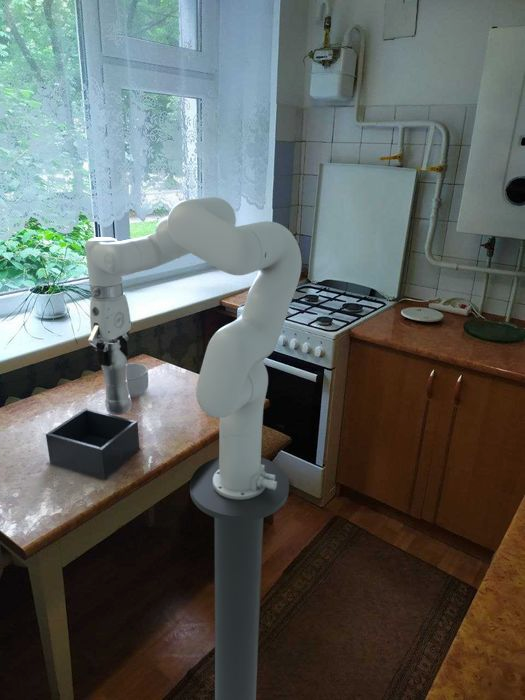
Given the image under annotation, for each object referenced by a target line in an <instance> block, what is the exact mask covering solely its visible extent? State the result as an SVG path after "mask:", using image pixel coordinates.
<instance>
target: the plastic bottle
mask: <svg viewBox="0 0 525 700" xmlns="http://www.w3.org/2000/svg"><path fill="white" fill-rule="evenodd" d="M108 351H110V360H111V365H110V366H104V365H100V367H101V370H102V374H103V380H104V384H105V399H104V406H105V410H106V412H107V413H108V414H110V415H114V416H122V415H126V414H128V413H129V412H130V411H131V409H132V398H130V395H129V392H128V387H127V374H126V372H127V363H128V359H127V356H125V355H124V354H123V352H122V351H121V350H120V341H119V340H118V339H117V338H115V339H113V340H111V341H109V344H108Z"/></svg>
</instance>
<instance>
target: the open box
mask: <svg viewBox="0 0 525 700" xmlns="http://www.w3.org/2000/svg"><path fill="white" fill-rule="evenodd" d="M45 439H46V445H47V451H48V452H47V453H48V458H49V464H51V465H54V466H57V467H60V468H63V469H67V470H71V471H74V472H77V473H81V474H83V475H87V476H89V477H94V478H97V479H100V480H103V481H105V480H106V479H108V478H109V477H110V476H112V475H113V473H115V472H116V471H117V470H118V469H119V468H120V467H121V466H123V464H125V463H126V462H127V461H128V460H130V458H131V457H133V455H135V454H136V453H138V451H139V450H140V436H139V422H138V421H137V420H134V419H130V418H125V417H123V416H122V417H121V416H119V415H112V414H110V413H107V412H101V411H98V410H93V409H89V408H84V409H81V411H78V413H76V414H75V415H73V416H71V417H70V418H68V419H67V420H65V421H63V422H62V423H60V424H59V425H57V426H56V427H54V428H53V429H52V430H50V431H49V432H47V433H46V434H45Z"/></svg>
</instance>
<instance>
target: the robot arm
mask: <svg viewBox="0 0 525 700" xmlns="http://www.w3.org/2000/svg"><path fill="white" fill-rule="evenodd" d="M236 219H237V218H236V212H235V210H234V208H233V206H232V205H231V204H230V203H229V202H228V201H226V200H225V199H224V198H220V197H215V196H208V197H197V198H190V199H189V198H188V199H184V200H181V201H179V202H177V203H176V204H174V205H173V207H172V208H171V210H170V211H169V212H168V216H165V217H163V218H161V219H160V220H159V221H158V222H157V224H156V227H155V231H154V232H153V233H150V234H148V235H146V236H141V237H135V238H130V239H129V238H128V239H125V240H121V241H120V240H119V241H118V240H117V238H114V237H109V236H108V237H106V236H102V237H101V236H99V237H90V238H89V239H88V240H86V242H85V245H84V247H85V248H84V249H85V256H86V266H87V275H88V282H89V283H88V284H89V291H90V292H89V295H90V303H89V321H90V332H91V333H90V335H89V337H88V340H87V343H88V344H90V346H91V347H92V348H94V350H95V351H96V352H97V360H98V365H99V366H101V365H104V366H110V365H111V360H110V351H108V344H109V341H111V340H113V339H118V340H119V341H120V350H121V351H122V352H123V354H124V355H125V356H126V357H128V356H129V348H128V341H129V334H130V331H131V329H132V324H133V322H132V320H131V313H130V308H129V303H128V298H127V295H126V293H125V292H124V283H123V277H125V276H129V275H132V274H136V273H140V272H144V271H148V270H151V269H152V270H153V269H156V268H158V267H160V266H163V265H165V264H167V263H168V264H169V263H171V262H172V261H175V260H177V259H180V258H181V257H184V256H187V255H189V254H191V255H194V256H195V257H197V258H198V259H201V260H202V261H204V262H206V263H208V264H209V265H210V266H212V267H215V268H216V269H218V270H220V271H222V272H223V273H225V274H228V275H231V276H232V275H233V276H246V275H250V274H251V273H254V272H258V273H257V275H256V277H255V279H254V281H253V282H252V284H251V286H250V288H249V289H248V293H247V295H246V299H245V302H244V305H243V308H242V310H241V313H240V314H239V316H238V317H237V318H236V319H235V320H234V321H232V322H230V323H227V324H225V325H224V326H222V327H220V328H219V329H218V330H217V331H215V333H214V334H213V335H212V337H211V338H210V340H209V341H208V344H207V346H206V350H205V353H204V357H203V360H202V363H201V368H200V371H199V374H198V378H197V382H196V387H195V389H196V390H195V395H196V400H197V404H198V406H199V407H200V409H201V410H202V412H203V413H204V414H205V415H207V416H209V417H210V418H214V419H219V429H218V432H219V433H218V434H219V435H218V436H219V437H218V438H219V441H218V442H219V443H218V445H219V447H218V448H219V449H218V450H219V451H218V452H219V453H218V454H219V455H218V457H219V470H218V471H216V473H215V474H214V476H213V487H214V489H215V490H216V491H217V492H218V493H219V494H220V495H222V496H224V497H227V498H230V499H236V500H244V499H250V498H253V497H255V496H257V495H259V494H260V493H262V492H263V491H264V490H265V488H266V487H267V488H269V489H272V490H275V489H276V487H277V482H276V481H274V480H275V475H272V474H267V473H266V472H264V469H265V465H262V464H261V457H262V440H263V425H264V423H263V422H264V406H265V401H266V396H267V392H268V386H269V374H268V373H269V372H268V370H267V367H266V365H265V364H264V363H263V361H264V360H265V359H267V358H268V357H269V356H270V355H271V354H272V353H273V352H274V350H275V349H276V347H277V344H278V340H279V339H280V335H281V333H282V330H283V328H284V327H283V326H284V324H285V321H286V319H287V315H288V313H289V309H290V306H291V303H292V300H293V298H294V295H295V293H296V290H297V287H298V285H299V281H300V278H301V273H302V265H303V263H302V254H301V250H300V246H299V243H298V241H297V239H296V238H295V236H294V235H293V233H292V232H291V231H290V230H289V229H288V228H287V227H286V226H284V225H283V224H280V223H279V222H275V221H269V220H268V221H265V220H264V221H258V222H252V223H248V224H243V225H237V226H236V221H237V220H236ZM102 342H103V343H102ZM267 479H268V480H267Z"/></svg>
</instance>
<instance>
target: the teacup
mask: <svg viewBox="0 0 525 700" xmlns="http://www.w3.org/2000/svg"><path fill="white" fill-rule="evenodd" d="M126 374H127V387H128V392H129V395H130V398H131V399H132V398H137V397H140V396H141V395H142V394H143V393H145V392H146V391H147V390H148V388H149V368H148V366H147V365H146V364H143V363H139V362H127V372H126Z"/></svg>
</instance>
